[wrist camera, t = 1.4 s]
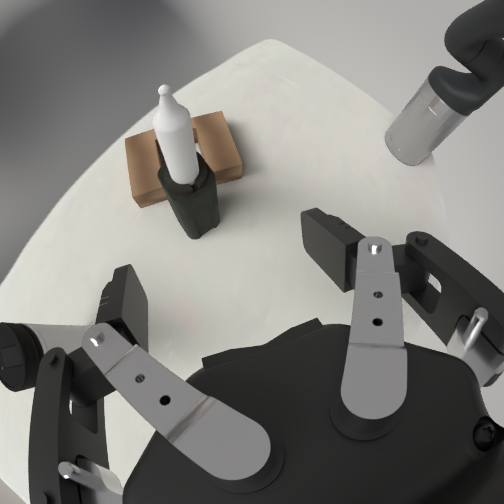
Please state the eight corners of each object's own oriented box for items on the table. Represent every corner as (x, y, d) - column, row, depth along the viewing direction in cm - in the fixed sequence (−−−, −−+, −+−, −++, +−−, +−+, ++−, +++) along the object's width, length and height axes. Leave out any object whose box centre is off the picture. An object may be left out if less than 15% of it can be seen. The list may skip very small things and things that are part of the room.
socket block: (221, 126, 43) (221, 110, 39) (241, 178, 41) (242, 164, 37) (131, 152, 41) (124, 138, 37) (140, 208, 39) (132, 197, 35)
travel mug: (122, 363, 33) (35, 391, 14) (86, 370, 32) (-6, 394, 13) (109, 320, 34) (15, 313, 15) (74, 330, 33) (-22, 327, 14)
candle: (203, 196, 40) (181, 56, 16) (222, 223, 39) (216, 89, 15) (174, 214, 39) (117, 86, 15) (192, 242, 38) (142, 125, 14)
